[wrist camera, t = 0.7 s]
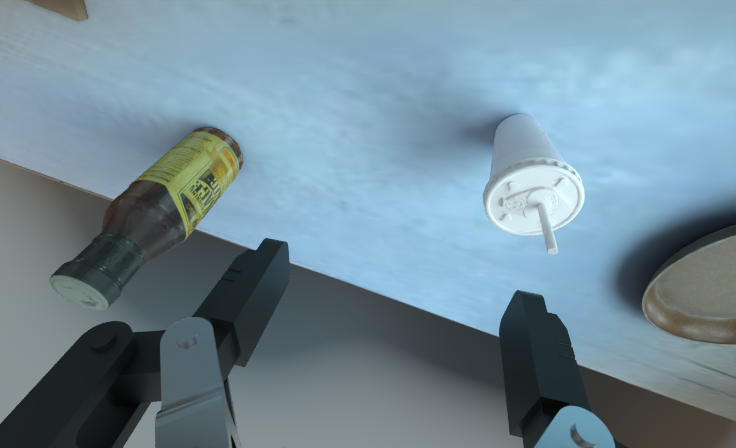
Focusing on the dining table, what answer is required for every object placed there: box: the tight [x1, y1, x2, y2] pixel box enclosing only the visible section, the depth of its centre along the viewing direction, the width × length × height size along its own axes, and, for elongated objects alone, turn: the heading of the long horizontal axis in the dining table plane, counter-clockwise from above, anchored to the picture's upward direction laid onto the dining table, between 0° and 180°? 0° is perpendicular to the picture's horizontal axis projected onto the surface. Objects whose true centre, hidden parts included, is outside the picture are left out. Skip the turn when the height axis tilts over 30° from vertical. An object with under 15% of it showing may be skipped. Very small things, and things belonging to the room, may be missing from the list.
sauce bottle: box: [50, 127, 243, 310], centre depth 31 cm, size 7×6×20 cm
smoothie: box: [483, 114, 585, 254], centre depth 26 cm, size 6×6×14 cm
